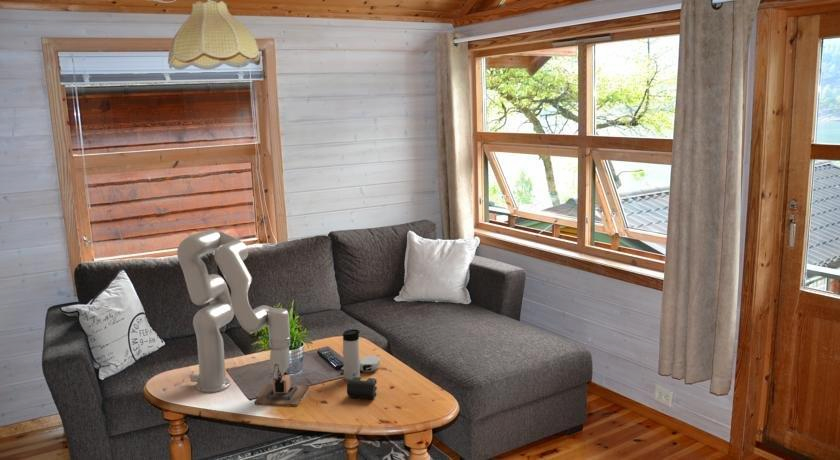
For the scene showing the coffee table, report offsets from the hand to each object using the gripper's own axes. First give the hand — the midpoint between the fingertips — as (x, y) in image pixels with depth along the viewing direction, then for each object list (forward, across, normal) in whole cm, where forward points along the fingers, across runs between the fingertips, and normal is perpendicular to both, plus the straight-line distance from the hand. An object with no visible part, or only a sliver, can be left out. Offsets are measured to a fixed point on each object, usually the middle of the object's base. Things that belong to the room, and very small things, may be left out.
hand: (282, 388), depth 256 cm
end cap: (+4, -2, +30) cm, 30 cm away
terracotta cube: (+1, 0, 0) cm, 1 cm away
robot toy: (+4, -28, +25) cm, 38 cm away
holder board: (+3, 0, 0) cm, 3 cm away
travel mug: (+3, -18, +23) cm, 29 cm away
